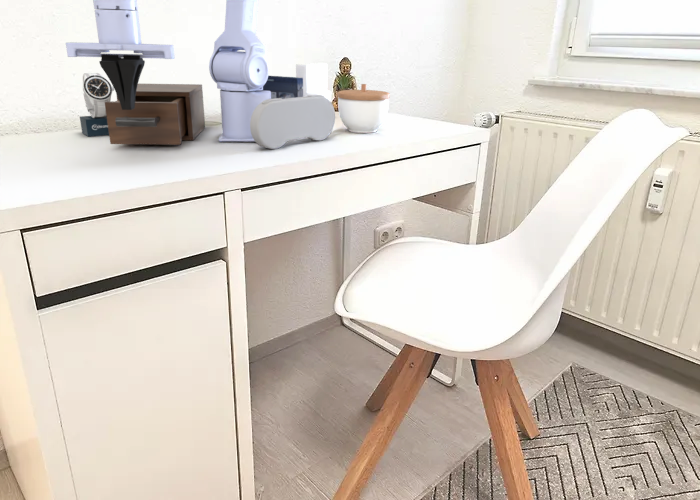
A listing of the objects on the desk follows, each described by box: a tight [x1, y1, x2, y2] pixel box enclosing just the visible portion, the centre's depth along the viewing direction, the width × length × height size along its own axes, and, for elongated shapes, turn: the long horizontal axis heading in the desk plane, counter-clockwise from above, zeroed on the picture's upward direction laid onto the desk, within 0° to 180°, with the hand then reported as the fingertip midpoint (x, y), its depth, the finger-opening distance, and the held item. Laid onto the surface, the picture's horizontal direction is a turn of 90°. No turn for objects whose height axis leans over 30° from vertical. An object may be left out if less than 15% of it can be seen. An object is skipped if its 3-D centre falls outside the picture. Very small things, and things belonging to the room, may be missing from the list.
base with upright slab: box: [295, 62, 332, 103], centre depth 129 cm, size 9×9×12 cm
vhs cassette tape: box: [262, 75, 303, 99], centre depth 120 cm, size 18×3×10 cm, turn 64°
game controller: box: [250, 95, 336, 150], centre depth 98 cm, size 20×2×8 cm, turn 140°
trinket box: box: [337, 83, 391, 134], centre depth 113 cm, size 11×11×9 cm
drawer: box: [105, 96, 188, 146], centre depth 94 cm, size 18×11×7 cm, turn 5°
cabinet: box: [115, 83, 206, 141], centre depth 105 cm, size 15×13×9 cm
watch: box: [79, 72, 115, 138], centre depth 102 cm, size 6×8×11 cm
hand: (128, 109), depth 82 cm, fingers closed
